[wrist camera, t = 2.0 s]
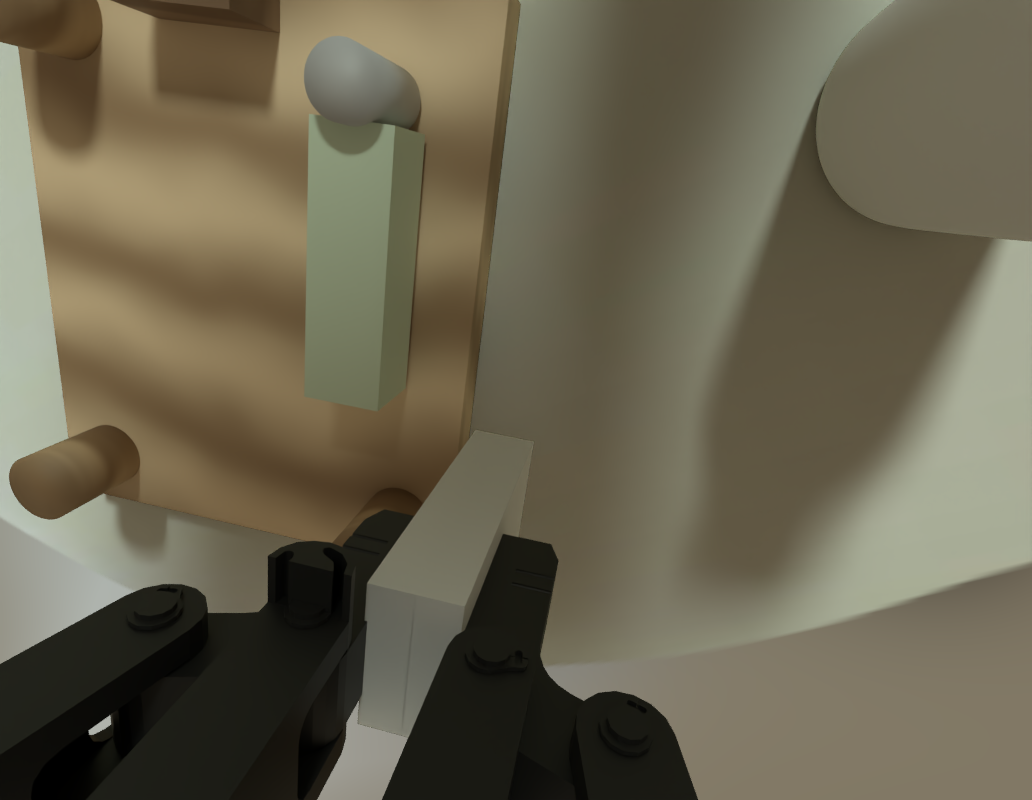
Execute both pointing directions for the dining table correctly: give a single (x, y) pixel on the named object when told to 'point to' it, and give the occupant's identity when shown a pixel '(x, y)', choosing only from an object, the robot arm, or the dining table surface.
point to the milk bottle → (935, 118)
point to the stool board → (244, 253)
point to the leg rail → (360, 223)
